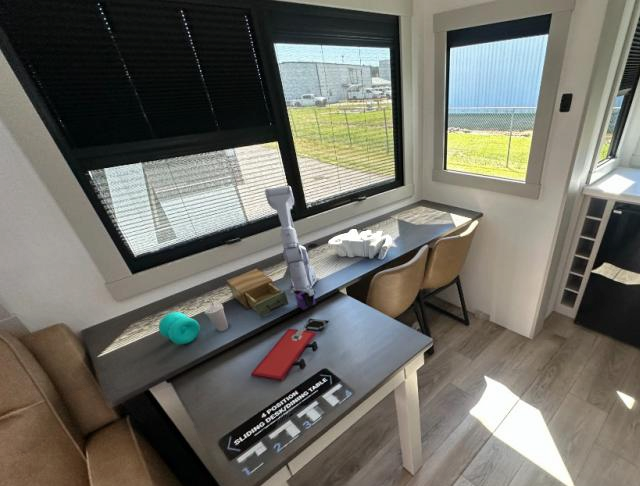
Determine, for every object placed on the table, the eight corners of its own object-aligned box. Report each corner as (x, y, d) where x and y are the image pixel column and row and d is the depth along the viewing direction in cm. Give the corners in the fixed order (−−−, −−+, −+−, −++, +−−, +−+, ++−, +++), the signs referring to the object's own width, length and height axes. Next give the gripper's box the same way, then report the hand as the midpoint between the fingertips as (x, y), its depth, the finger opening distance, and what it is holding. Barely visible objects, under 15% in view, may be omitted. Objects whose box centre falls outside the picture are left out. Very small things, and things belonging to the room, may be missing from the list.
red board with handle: (334, 323, 120) (299, 319, 124) (332, 317, 118) (297, 313, 122) (293, 384, 96) (252, 376, 100) (290, 377, 95) (249, 370, 99)
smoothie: (235, 324, 123) (222, 294, 116) (223, 334, 119) (208, 304, 111) (222, 321, 125) (208, 292, 117) (210, 332, 120) (194, 302, 113)
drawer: (294, 308, 129) (290, 295, 125) (265, 322, 122) (260, 309, 118) (272, 292, 140) (268, 280, 137) (245, 304, 133) (240, 292, 130)
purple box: (315, 303, 132) (313, 292, 129) (303, 310, 129) (300, 299, 126) (310, 300, 135) (307, 289, 132) (298, 306, 132) (294, 295, 128)
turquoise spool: (179, 350, 112) (165, 329, 107) (165, 341, 117) (151, 320, 111) (205, 334, 119) (194, 313, 114) (191, 326, 124) (180, 306, 118)
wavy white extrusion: (398, 249, 171) (397, 231, 165) (388, 263, 158) (386, 244, 152) (342, 244, 182) (338, 227, 176) (327, 257, 169) (323, 238, 163)
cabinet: (277, 295, 140) (272, 279, 135) (247, 309, 132) (240, 292, 127) (261, 283, 149) (256, 268, 145) (233, 295, 141) (226, 280, 137)
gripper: (280, 273, 126) (289, 301, 134) (299, 285, 117) (307, 314, 125) (296, 267, 130) (304, 294, 138) (315, 278, 121) (322, 306, 129)
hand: (306, 303), depth 132 cm, fingers open, 5 cm apart
